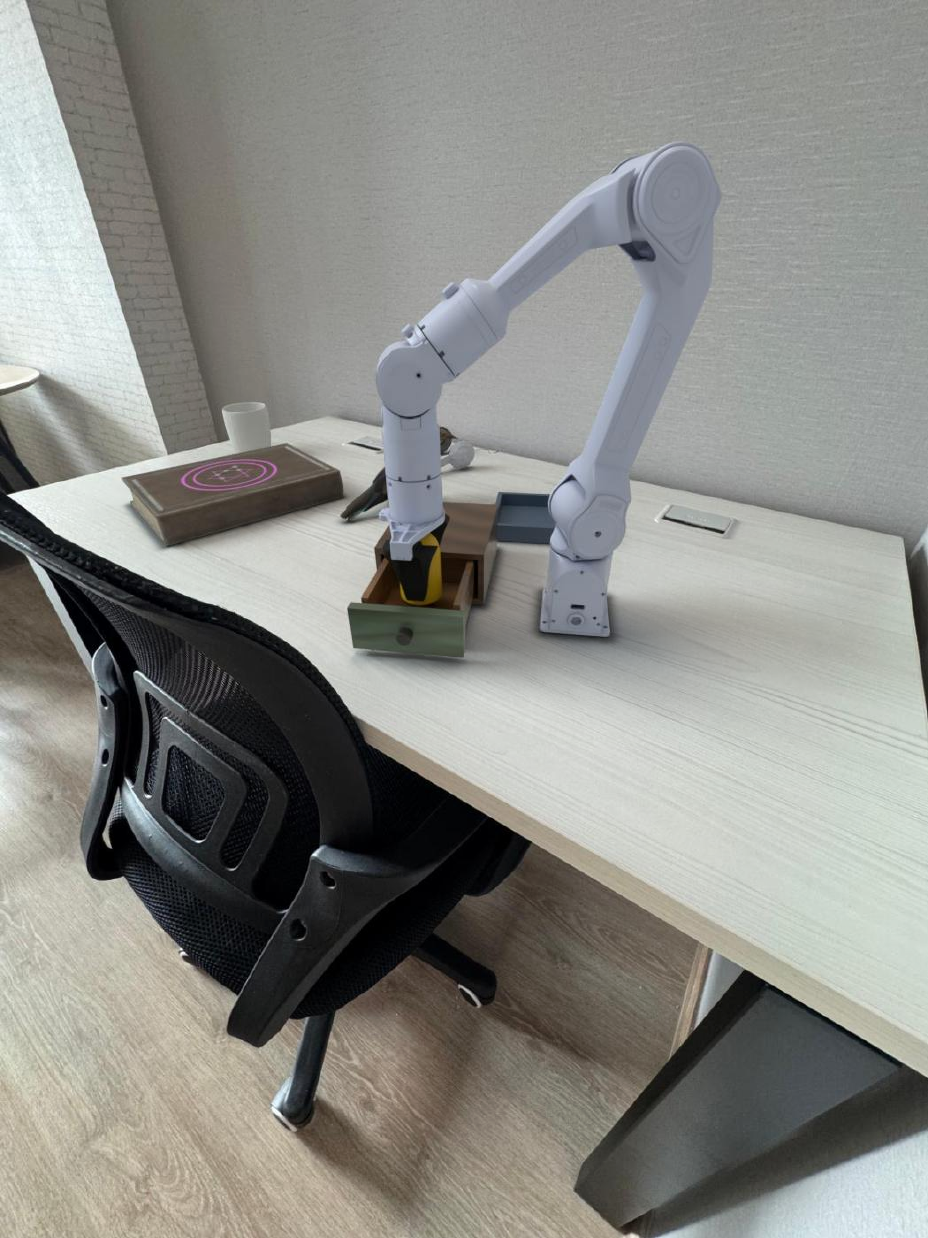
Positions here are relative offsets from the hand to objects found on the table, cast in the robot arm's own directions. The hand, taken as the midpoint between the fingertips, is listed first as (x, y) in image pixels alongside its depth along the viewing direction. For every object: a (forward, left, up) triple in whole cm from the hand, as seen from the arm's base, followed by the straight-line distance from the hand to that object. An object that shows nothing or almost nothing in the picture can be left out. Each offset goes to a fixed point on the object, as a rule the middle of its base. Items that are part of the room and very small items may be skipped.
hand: (421, 587), depth 65 cm
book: (+33, +41, -5) cm, 53 cm away
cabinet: (+12, 0, -5) cm, 13 cm away
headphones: (+57, +9, -5) cm, 58 cm away
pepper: (0, 0, -1) cm, 1 cm away
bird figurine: (+33, +11, -5) cm, 35 cm away
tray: (+30, -13, -5) cm, 33 cm away
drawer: (-1, 0, -4) cm, 4 cm away
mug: (+60, +52, -5) cm, 80 cm away
